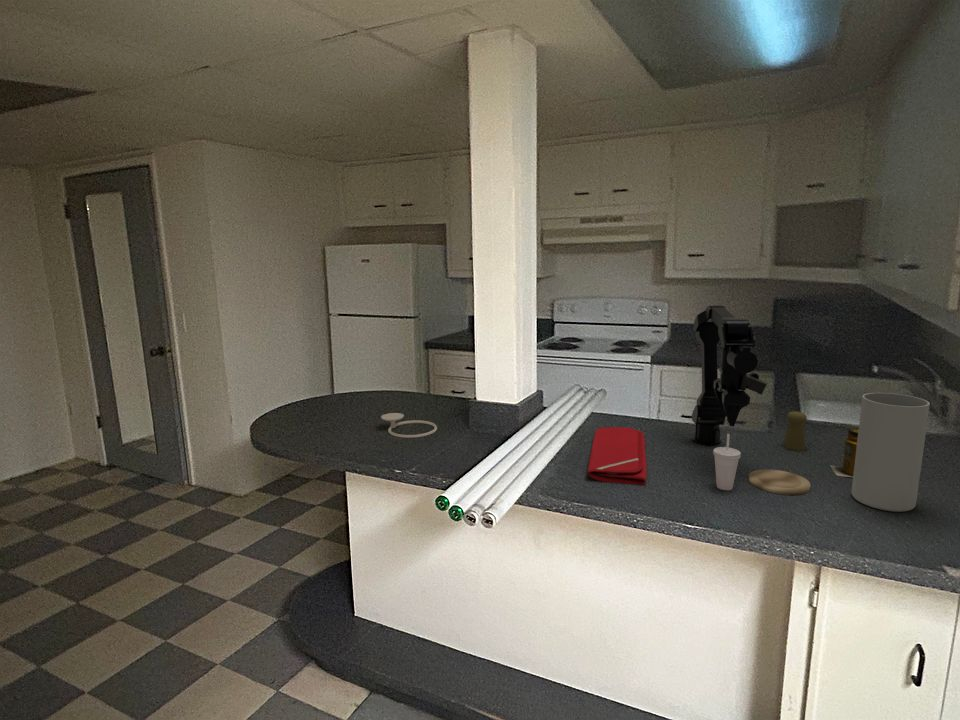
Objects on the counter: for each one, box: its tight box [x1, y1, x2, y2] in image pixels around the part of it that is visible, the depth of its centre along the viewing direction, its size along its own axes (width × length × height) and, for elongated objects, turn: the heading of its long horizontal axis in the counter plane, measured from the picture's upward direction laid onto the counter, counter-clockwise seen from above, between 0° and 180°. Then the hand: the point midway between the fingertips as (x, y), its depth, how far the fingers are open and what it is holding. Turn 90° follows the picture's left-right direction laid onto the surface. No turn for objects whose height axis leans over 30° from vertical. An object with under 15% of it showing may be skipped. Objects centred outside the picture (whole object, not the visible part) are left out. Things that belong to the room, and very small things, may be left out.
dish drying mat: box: [587, 426, 648, 486], centre depth 167 cm, size 16×41×4 cm, turn 165°
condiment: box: [829, 427, 859, 478], centre depth 150 cm, size 7×8×12 cm
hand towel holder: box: [380, 412, 438, 439], centre depth 195 cm, size 17×4×20 cm
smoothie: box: [712, 433, 742, 491], centre depth 142 cm, size 6×6×14 cm
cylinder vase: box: [851, 392, 931, 513], centre depth 132 cm, size 12×12×25 cm
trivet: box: [748, 469, 811, 496], centre depth 145 cm, size 14×14×1 cm
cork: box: [782, 410, 808, 452], centre depth 170 cm, size 6×6×11 cm
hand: (728, 421), depth 155 cm, fingers open, 9 cm apart
